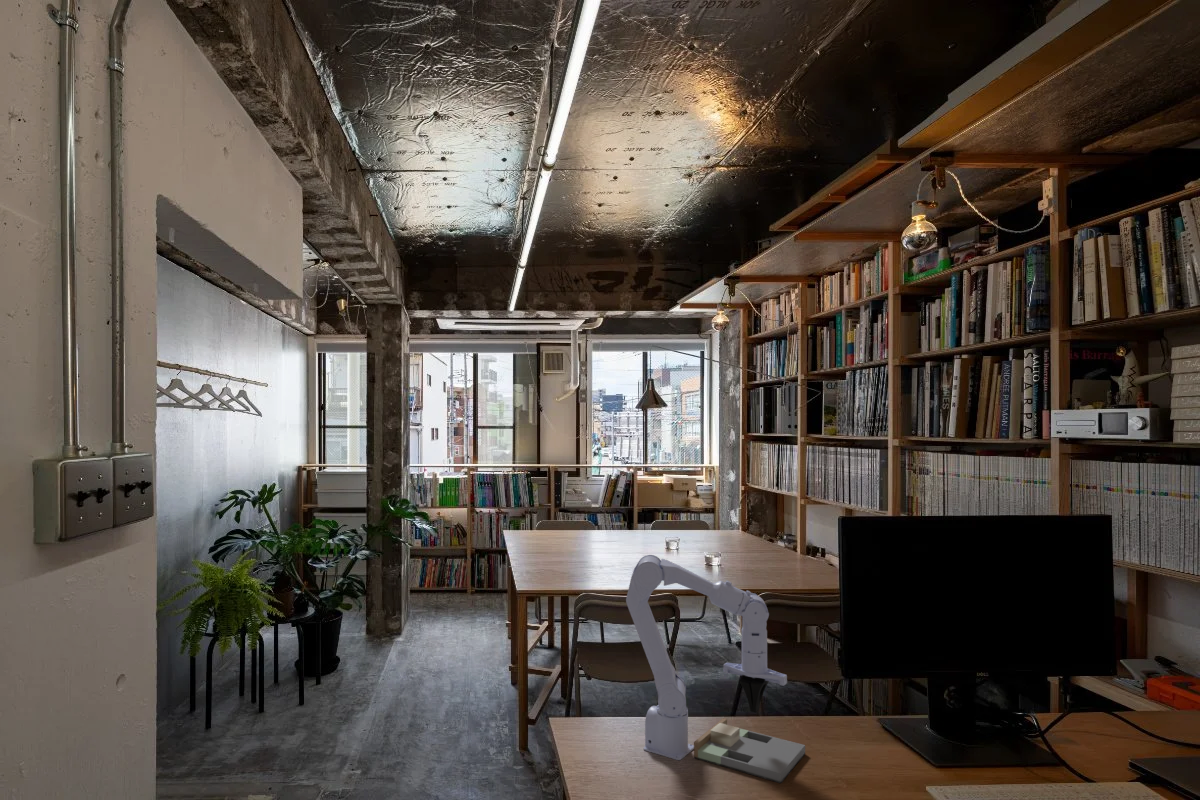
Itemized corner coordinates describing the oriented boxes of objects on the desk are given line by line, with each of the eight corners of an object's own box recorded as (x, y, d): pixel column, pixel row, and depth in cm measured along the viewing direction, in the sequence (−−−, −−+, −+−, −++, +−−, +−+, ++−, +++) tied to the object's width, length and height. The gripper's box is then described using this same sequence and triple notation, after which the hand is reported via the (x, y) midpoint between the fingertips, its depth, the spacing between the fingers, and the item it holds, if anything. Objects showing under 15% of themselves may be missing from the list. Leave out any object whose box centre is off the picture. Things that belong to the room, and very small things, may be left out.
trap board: (693, 758, 157) (693, 742, 157) (723, 732, 170) (723, 717, 170) (780, 783, 145) (780, 766, 146) (805, 754, 159) (805, 738, 159)
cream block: (710, 741, 160) (710, 730, 161) (719, 733, 165) (719, 722, 165) (730, 746, 158) (730, 735, 158) (739, 738, 162) (739, 727, 162)
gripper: (791, 651, 159) (792, 712, 158) (732, 640, 167) (732, 698, 166) (780, 659, 153) (780, 722, 152) (719, 647, 161) (719, 707, 161)
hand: (754, 710), depth 159 cm, fingers closed
